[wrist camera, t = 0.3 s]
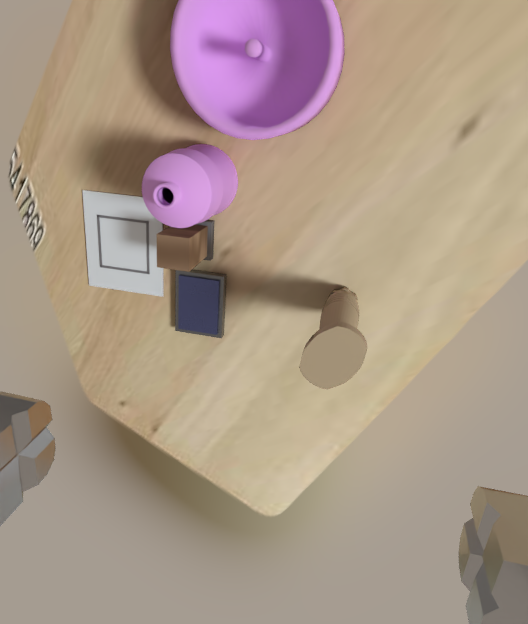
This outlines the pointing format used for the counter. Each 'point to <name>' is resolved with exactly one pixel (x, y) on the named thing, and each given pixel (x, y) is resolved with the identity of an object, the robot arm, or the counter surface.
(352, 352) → the handle
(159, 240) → the stamp
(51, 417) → the robot arm
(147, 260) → the card
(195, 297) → the ink tin
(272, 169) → the counter surface
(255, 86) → the container set
